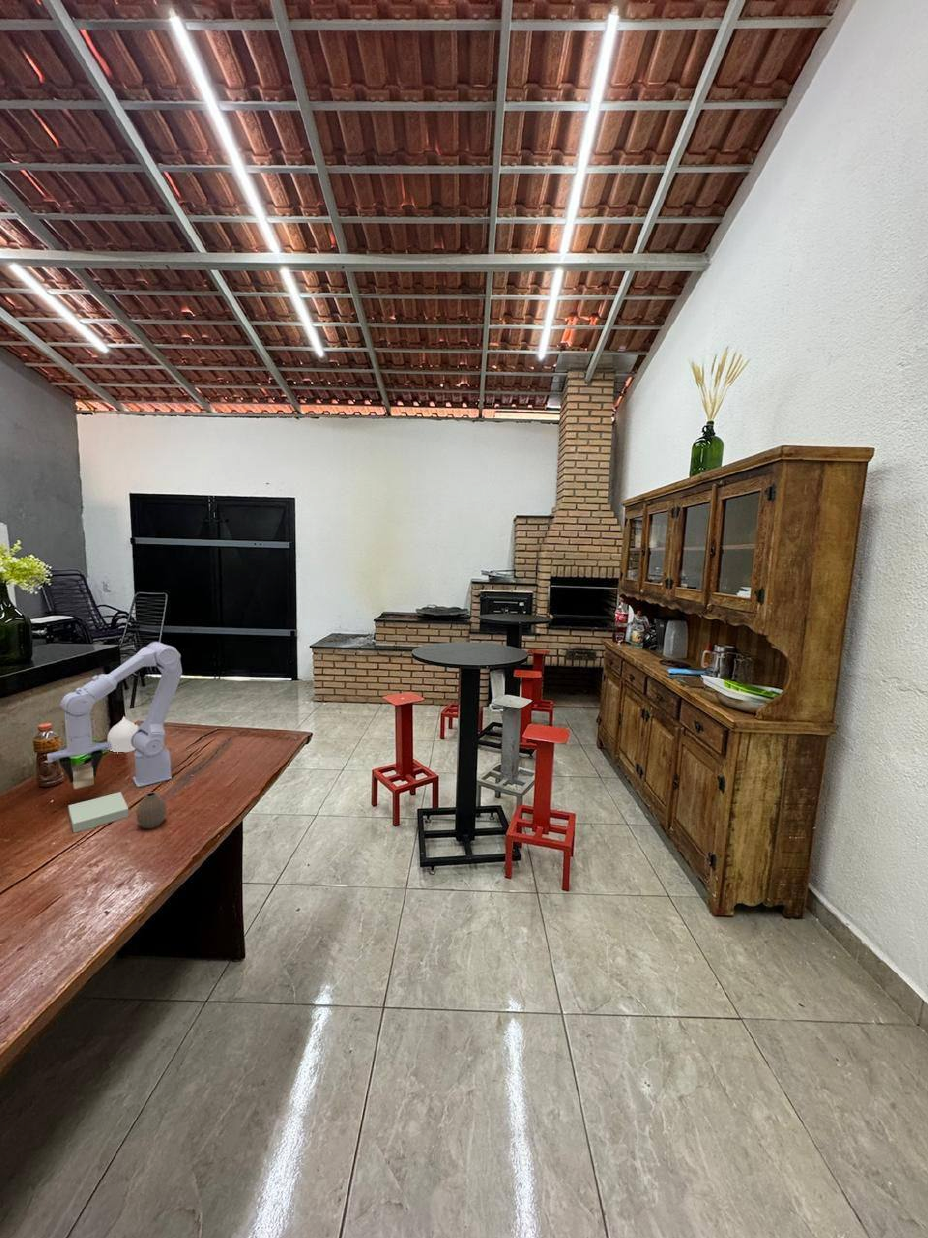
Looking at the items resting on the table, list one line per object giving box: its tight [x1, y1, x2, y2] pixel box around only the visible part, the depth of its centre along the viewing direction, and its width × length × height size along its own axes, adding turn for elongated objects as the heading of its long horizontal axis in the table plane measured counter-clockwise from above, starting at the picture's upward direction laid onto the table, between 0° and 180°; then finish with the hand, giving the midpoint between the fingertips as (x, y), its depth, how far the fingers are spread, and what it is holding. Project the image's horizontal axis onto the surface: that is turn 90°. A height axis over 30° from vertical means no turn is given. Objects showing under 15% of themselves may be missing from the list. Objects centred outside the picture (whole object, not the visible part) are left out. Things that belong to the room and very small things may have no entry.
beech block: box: [71, 762, 95, 790], centre depth 142 cm, size 4×4×5 cm
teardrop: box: [107, 715, 139, 754], centre depth 179 cm, size 11×11×12 cm
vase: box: [135, 791, 168, 829], centre depth 132 cm, size 7×7×9 cm
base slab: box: [67, 791, 130, 834], centre depth 135 cm, size 12×12×2 cm
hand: (82, 778), depth 142 cm, fingers closed on beech block, 4 cm apart
